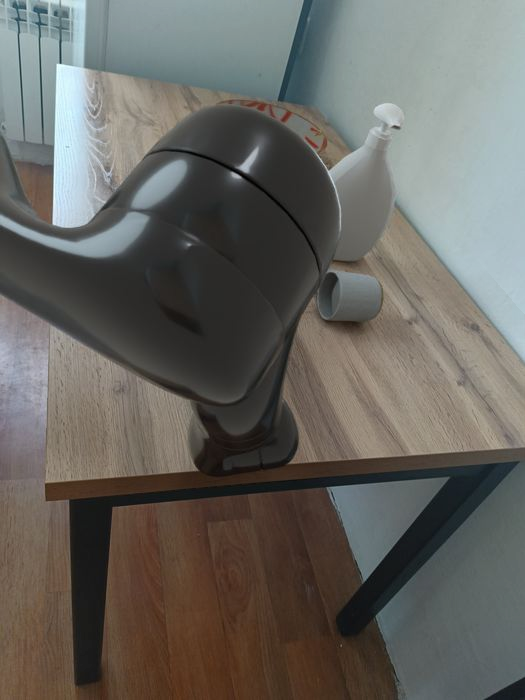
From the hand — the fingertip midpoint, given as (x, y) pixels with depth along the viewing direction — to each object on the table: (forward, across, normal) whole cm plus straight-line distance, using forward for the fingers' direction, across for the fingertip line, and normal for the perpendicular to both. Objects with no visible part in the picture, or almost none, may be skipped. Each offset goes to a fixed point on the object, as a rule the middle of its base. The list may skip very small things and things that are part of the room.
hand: (214, 241), depth 74 cm
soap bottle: (+14, -25, +9) cm, 30 cm away
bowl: (+47, -16, +9) cm, 51 cm away
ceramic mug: (-1, -22, +9) cm, 24 cm away
